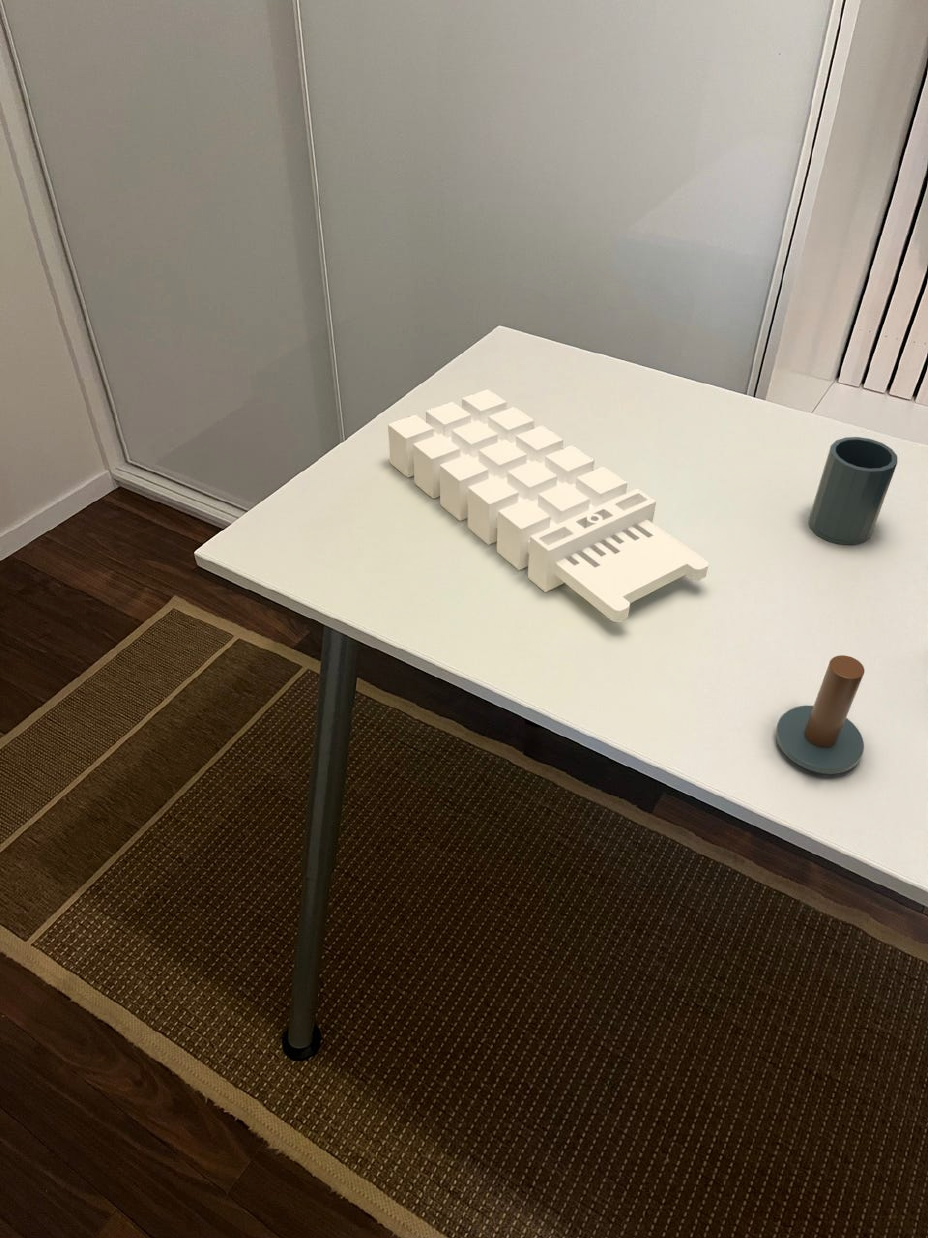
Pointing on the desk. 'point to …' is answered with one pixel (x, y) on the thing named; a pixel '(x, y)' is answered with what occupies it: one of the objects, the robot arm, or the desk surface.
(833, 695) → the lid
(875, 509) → the tin
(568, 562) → the organizer
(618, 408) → the desk surface
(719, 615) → the desk surface
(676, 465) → the desk surface
